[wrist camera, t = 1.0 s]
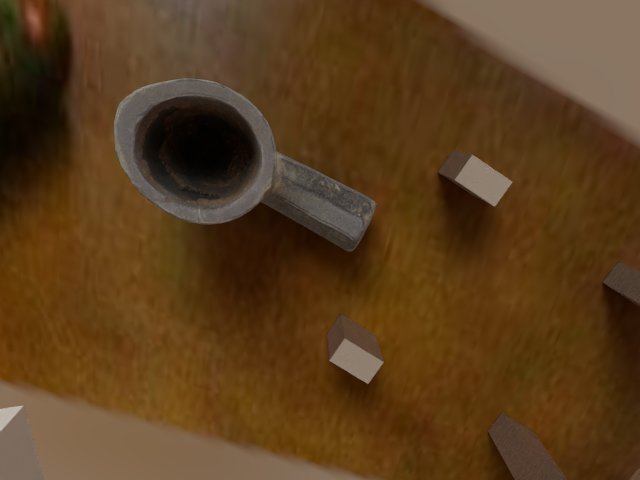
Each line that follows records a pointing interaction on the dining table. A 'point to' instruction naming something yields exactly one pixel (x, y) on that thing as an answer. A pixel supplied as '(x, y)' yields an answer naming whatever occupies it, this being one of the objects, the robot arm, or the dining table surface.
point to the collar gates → (508, 435)
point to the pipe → (225, 162)
